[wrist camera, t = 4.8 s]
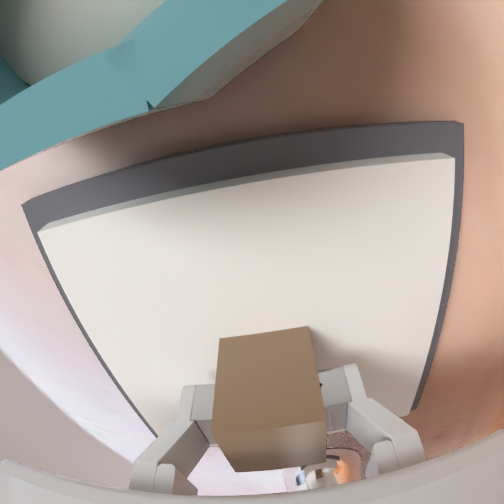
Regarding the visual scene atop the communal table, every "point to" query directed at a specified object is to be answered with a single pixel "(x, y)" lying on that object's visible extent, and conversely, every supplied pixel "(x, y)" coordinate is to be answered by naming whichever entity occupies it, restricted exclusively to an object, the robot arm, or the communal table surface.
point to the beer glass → (325, 471)
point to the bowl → (123, 60)
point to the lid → (265, 294)
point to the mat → (251, 163)
